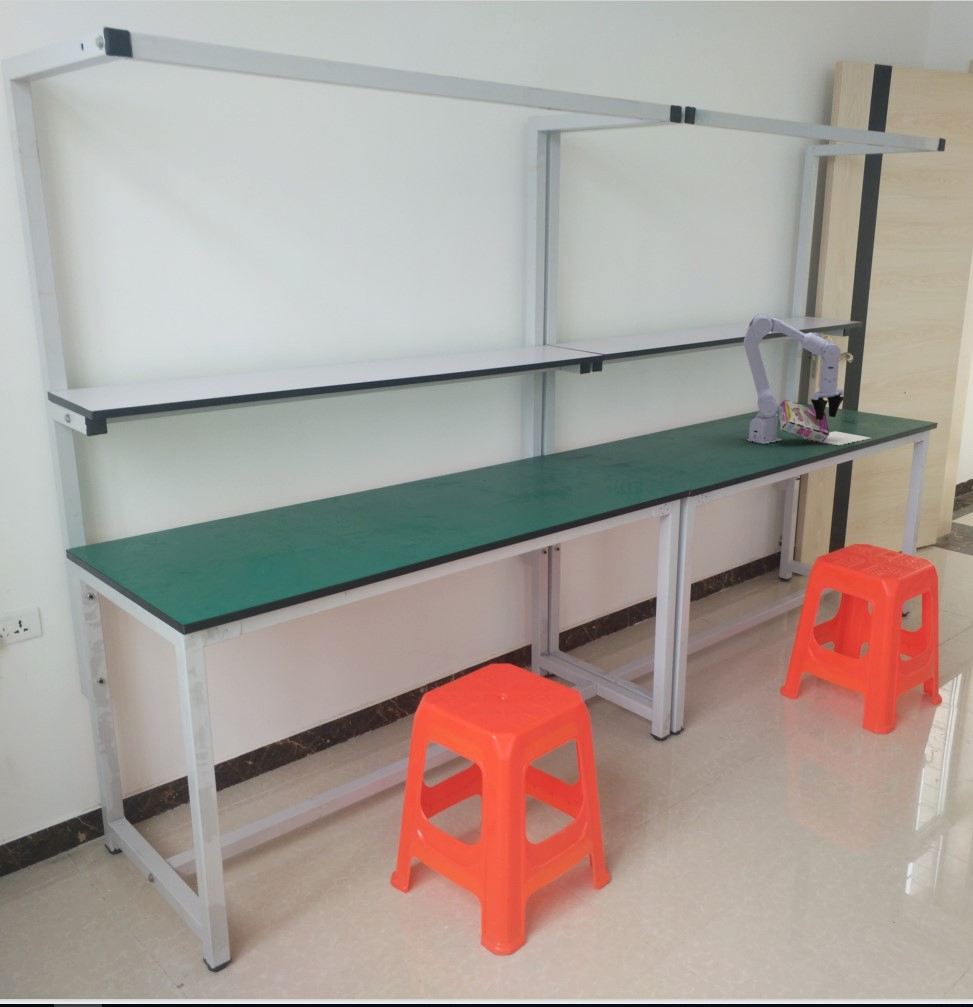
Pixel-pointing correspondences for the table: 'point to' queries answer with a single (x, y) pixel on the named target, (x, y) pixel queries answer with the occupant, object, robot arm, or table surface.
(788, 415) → the candy bar box
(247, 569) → the table surface
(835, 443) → the mat
